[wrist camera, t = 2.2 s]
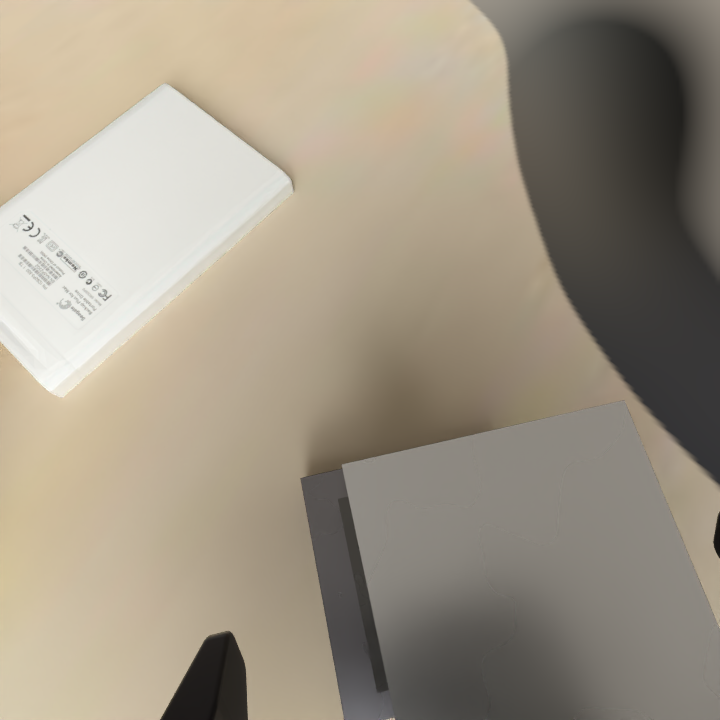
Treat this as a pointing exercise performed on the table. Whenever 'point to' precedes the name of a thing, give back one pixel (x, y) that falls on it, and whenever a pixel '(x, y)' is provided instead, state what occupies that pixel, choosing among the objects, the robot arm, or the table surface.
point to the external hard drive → (124, 232)
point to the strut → (530, 578)
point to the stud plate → (342, 600)
